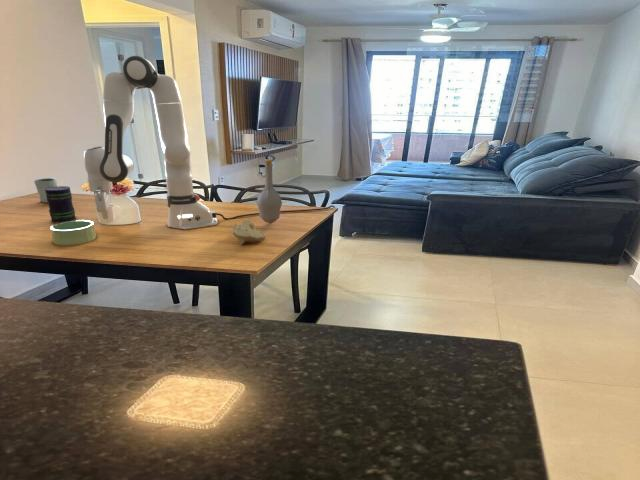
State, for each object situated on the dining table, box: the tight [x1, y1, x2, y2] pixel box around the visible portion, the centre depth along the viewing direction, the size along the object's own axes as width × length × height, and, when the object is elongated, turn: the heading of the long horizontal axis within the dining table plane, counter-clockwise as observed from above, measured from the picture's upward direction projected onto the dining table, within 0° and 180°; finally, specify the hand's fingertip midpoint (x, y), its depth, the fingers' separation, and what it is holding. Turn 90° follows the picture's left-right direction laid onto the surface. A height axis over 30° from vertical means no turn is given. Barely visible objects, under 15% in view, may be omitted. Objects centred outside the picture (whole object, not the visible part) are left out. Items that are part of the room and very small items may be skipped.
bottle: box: [256, 159, 283, 225], centre depth 176 cm, size 11×11×30 cm
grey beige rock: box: [231, 218, 267, 246], centre depth 153 cm, size 15×7×15 cm
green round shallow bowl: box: [49, 219, 97, 247], centre depth 152 cm, size 15×15×6 cm
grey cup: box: [33, 177, 58, 204], centre depth 212 cm, size 10×10×12 cm
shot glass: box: [95, 204, 116, 225], centre depth 167 cm, size 7×7×7 cm
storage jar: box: [45, 185, 77, 223], centre depth 177 cm, size 10×10×15 cm
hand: (106, 216), depth 168 cm, fingers closed on shot glass, 5 cm apart
